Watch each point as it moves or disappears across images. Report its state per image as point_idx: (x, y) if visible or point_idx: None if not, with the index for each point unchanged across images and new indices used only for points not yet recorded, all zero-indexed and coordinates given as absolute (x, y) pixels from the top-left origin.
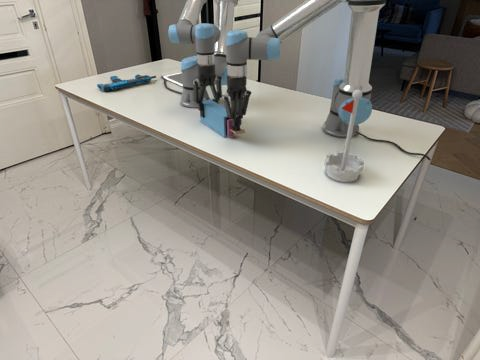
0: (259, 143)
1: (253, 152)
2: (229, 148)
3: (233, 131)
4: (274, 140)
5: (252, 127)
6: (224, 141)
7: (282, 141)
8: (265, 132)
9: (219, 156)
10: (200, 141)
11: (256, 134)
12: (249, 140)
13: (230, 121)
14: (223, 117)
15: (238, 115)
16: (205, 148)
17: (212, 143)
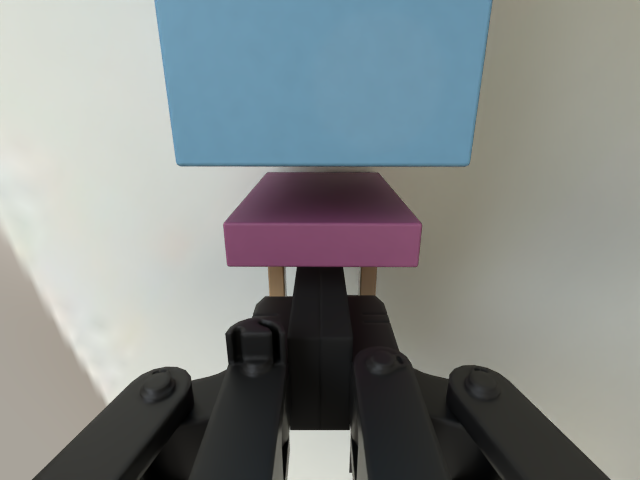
0: (427, 370)
1: (311, 434)
2: (199, 319)
3: (270, 295)
4: (543, 390)
5: (622, 96)
6: (218, 203)
7: (570, 424)
8: (612, 257)
9: (88, 369)
10: (12, 72)
11: (525, 245)
12: (402, 298)
13: (265, 260)
14: (179, 154)
15: (354, 427)
16: (24, 221)
17: (108, 176)
